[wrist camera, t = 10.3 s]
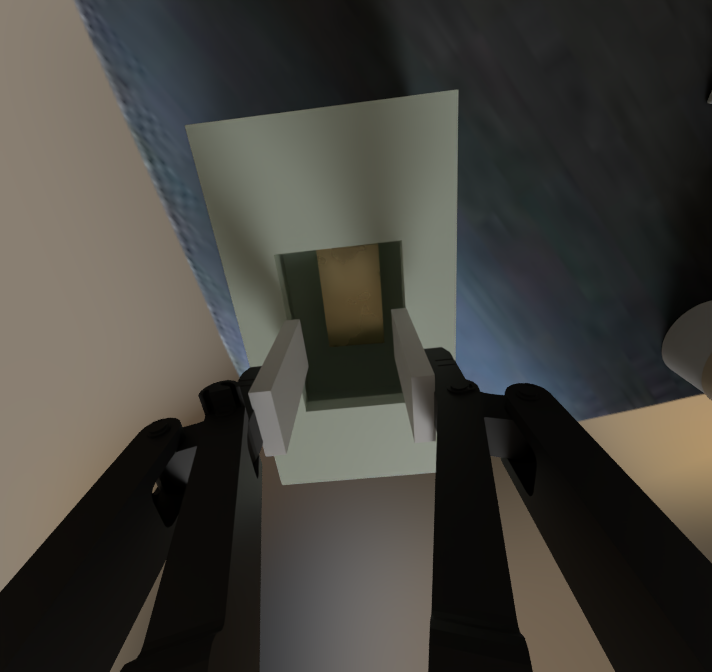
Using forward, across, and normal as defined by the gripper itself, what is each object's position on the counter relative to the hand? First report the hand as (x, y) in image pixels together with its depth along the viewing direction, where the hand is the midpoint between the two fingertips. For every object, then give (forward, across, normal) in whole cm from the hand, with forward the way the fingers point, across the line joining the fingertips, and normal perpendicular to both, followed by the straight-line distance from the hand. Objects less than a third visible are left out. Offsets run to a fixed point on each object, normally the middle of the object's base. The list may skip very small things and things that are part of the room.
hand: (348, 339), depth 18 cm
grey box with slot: (+10, 0, 0) cm, 10 cm away
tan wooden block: (+9, 0, 0) cm, 9 cm away
